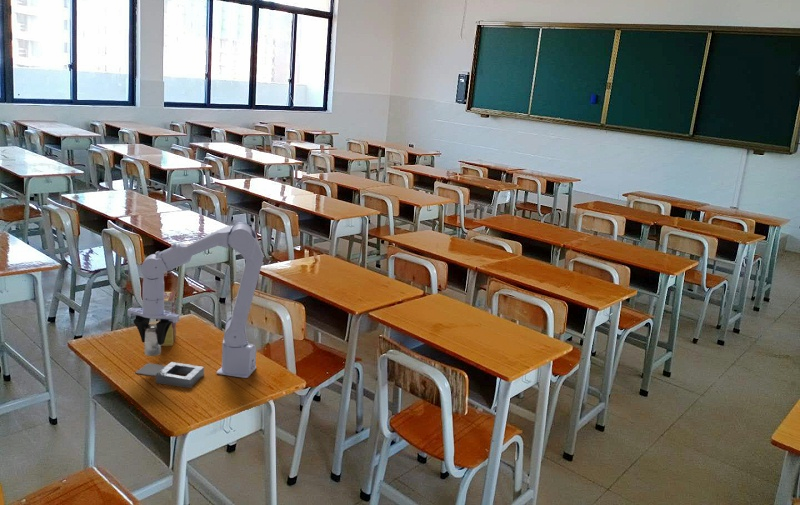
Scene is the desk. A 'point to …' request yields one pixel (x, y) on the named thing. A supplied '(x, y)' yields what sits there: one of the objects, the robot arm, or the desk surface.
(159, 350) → the metal cylinder
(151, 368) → the mat
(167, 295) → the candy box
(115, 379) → the desk surface
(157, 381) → the housing
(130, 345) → the desk surface
